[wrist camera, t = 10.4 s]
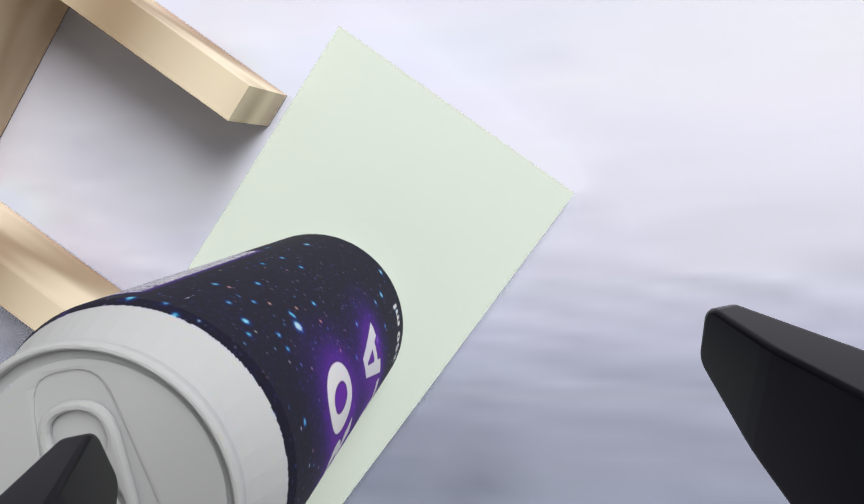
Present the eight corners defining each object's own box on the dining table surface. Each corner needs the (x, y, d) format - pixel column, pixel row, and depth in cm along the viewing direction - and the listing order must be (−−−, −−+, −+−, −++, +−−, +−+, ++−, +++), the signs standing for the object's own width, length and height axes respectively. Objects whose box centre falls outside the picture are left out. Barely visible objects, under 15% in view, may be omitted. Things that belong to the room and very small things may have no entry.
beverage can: (266, 408, 22) (-18, 680, 11) (226, 248, 22) (-121, 351, 10) (424, 382, 22) (305, 649, 10) (387, 215, 21) (213, 283, 9)
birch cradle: (287, 95, 21) (249, 85, 18) (136, 339, 23) (80, 365, 21) (66, -63, 22) (-6, -98, 19) (-65, 191, 24) (-148, 195, 21)
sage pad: (573, 192, 21) (574, 193, 20) (306, 550, 24) (300, 560, 23) (344, 29, 21) (339, 26, 20) (109, 404, 24) (99, 410, 23)
